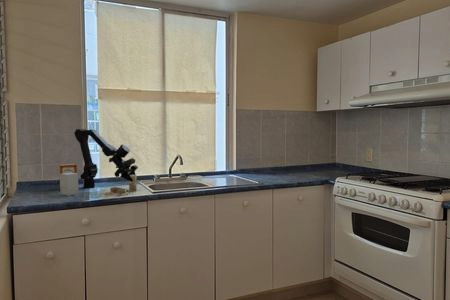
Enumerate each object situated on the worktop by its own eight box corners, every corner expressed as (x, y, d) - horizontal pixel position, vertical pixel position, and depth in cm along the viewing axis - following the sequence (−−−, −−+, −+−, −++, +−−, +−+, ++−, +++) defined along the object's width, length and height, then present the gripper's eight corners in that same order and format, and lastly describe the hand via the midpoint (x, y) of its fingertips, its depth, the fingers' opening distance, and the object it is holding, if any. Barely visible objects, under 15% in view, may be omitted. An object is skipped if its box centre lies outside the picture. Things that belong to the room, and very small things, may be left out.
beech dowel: (130, 191, 214) (130, 175, 213) (128, 190, 218) (128, 175, 217) (137, 190, 217) (137, 175, 216) (135, 189, 220) (135, 174, 220)
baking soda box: (60, 190, 218) (60, 165, 217) (60, 188, 223) (59, 164, 222) (76, 188, 222) (76, 164, 221) (75, 187, 228) (75, 163, 227)
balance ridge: (106, 193, 206) (106, 188, 206) (118, 191, 213) (117, 186, 213) (117, 196, 200) (117, 190, 200) (129, 194, 206) (129, 188, 206)
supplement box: (79, 193, 206) (78, 173, 205) (67, 195, 200) (67, 174, 199) (71, 192, 210) (70, 172, 209) (60, 194, 204) (59, 173, 203)
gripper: (118, 155, 208) (134, 174, 205) (135, 153, 226) (150, 170, 223) (107, 167, 211) (123, 186, 208) (125, 164, 229) (139, 181, 226)
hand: (134, 180), depth 216 cm, fingers closed on beech dowel, 4 cm apart
